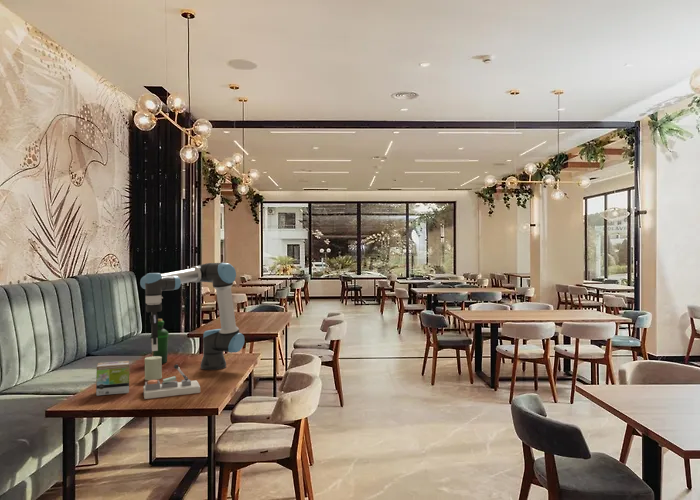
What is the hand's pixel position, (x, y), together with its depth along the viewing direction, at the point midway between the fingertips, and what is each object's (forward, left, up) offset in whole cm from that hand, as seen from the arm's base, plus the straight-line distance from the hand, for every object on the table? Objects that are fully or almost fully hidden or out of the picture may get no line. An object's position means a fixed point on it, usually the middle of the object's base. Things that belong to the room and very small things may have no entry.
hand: (154, 350), depth 257 cm
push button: (+1, +3, -17) cm, 18 cm away
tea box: (+19, -10, -21) cm, 31 cm away
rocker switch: (-7, +3, -15) cm, 16 cm away
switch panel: (-8, +3, -21) cm, 23 cm away
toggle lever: (-15, +3, -15) cm, 21 cm away
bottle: (-7, -74, -21) cm, 77 cm away
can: (-1, -32, -21) cm, 39 cm away
